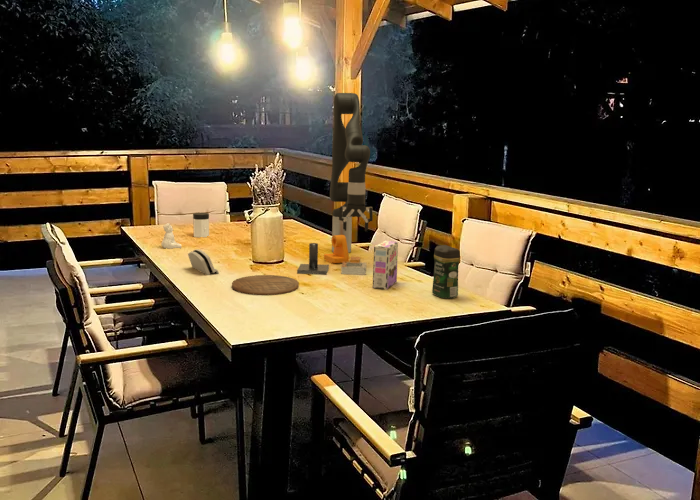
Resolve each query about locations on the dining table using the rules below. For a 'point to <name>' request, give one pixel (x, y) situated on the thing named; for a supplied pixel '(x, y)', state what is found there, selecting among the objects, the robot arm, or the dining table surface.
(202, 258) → the beige fin shape
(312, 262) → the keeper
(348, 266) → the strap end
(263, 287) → the trivet
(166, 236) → the white creature statuette
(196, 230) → the jar
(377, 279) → the candy box
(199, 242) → the dining table surface
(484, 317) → the dining table surface
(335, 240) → the bracket
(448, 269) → the coffee jar
